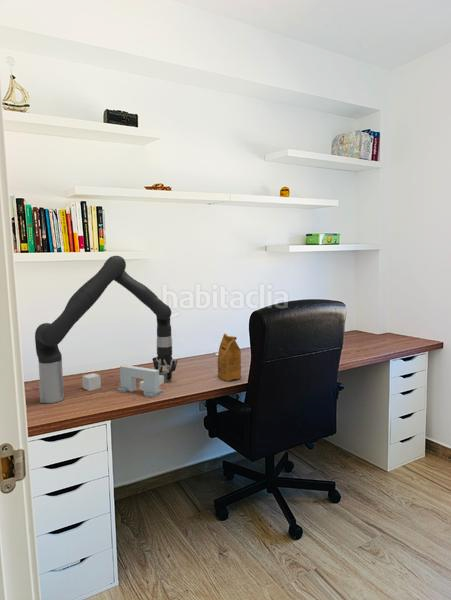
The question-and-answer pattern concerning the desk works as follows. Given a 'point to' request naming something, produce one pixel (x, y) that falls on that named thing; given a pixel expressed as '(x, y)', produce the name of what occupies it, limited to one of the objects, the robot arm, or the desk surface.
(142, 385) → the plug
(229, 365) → the coffee package
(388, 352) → the desk surface
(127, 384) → the port plate
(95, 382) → the white cube
